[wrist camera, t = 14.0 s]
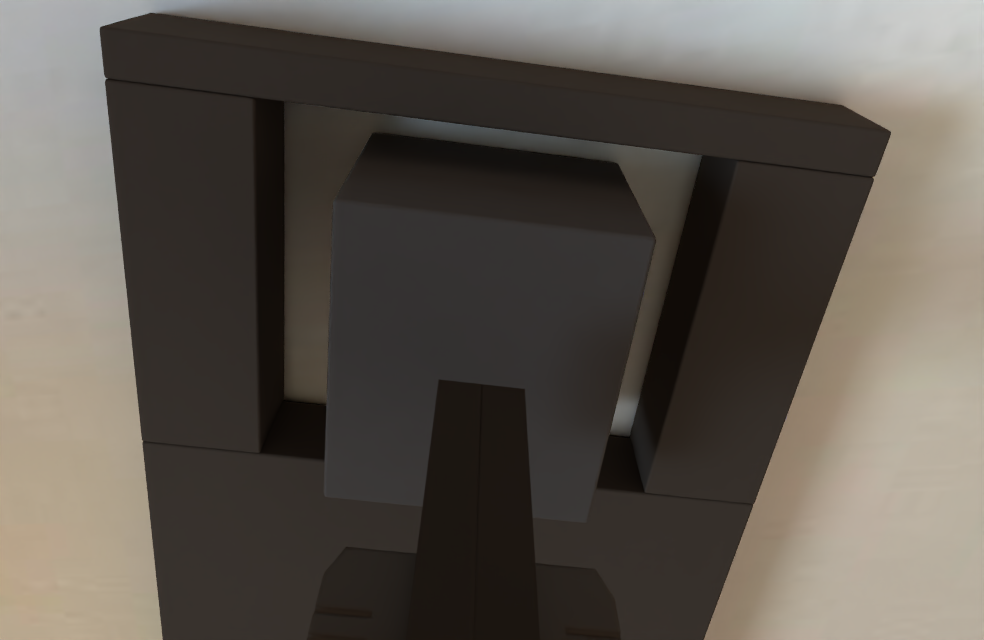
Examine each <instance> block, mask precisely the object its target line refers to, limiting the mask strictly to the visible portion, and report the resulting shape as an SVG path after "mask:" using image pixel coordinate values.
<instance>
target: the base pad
mask: <svg viewBox="0 0 984 640" xmlns="http://www.w3.org/2000/svg"><path fill="white" fill-rule="evenodd" d="M100 37H101V47H102V57H103V66H104V75H105V77H106V78H108V79H106V81H105V86H106V96H107V105H108V115H109V125H110V134H111V144H112V154H113V163H114V173H115V183H116V192H117V202H118V212H119V221H120V231H121V241H122V250H123V260H124V269H125V279H126V289H127V298H128V308H129V318H130V327H131V337H132V347H133V356H134V366H135V376H136V385H137V395H138V405H139V414H140V424H141V434H142V440H143V452H144V462H145V471H146V481H147V491H148V500H149V510H150V520H151V529H152V539H153V549H154V558H155V568H156V578H157V587H158V597H159V607H160V617H161V626H162V636H163V640H307V637H308V631H309V627H310V624H311V620H312V616H313V612H314V611H315V605H316V601H317V597H318V593H319V590H320V586H321V582H322V578H323V575H324V572H325V571H326V570H327V569H328V568H329V566H330V565H331V564H332V563H333V562H334V560H335V559H336V558H337V557H338V556H339V555H340V553H341V552H342V551H343V550H344V549H345V547H356V548H366V549H377V550H387V551H397V552H407V553H417V547H418V539H419V531H420V523H421V515H422V507H421V506H411V505H401V504H391V503H381V502H371V501H361V500H351V499H341V498H331V497H326V496H325V495H324V466H325V435H326V406H325V405H315V404H306V403H296V402H287V401H283V399H284V101H286V102H293V103H301V104H309V105H317V106H325V107H332V108H340V109H348V110H356V111H363V112H371V113H379V114H387V115H394V116H402V117H410V118H418V119H425V120H433V121H441V122H449V123H456V124H464V125H472V126H480V127H487V128H495V129H503V130H511V131H518V132H526V133H534V134H542V135H550V136H557V137H565V138H573V139H581V140H588V141H596V142H604V143H612V144H619V145H627V146H635V147H643V148H650V149H658V150H666V151H674V152H681V153H689V154H697V155H703V157H702V161H701V164H700V168H699V172H698V176H697V180H696V184H695V188H694V191H693V195H692V199H691V203H690V207H689V211H688V215H687V218H686V222H685V226H684V230H683V234H682V238H681V242H680V245H679V249H678V253H677V257H676V261H675V265H674V269H673V272H672V276H671V280H670V284H669V288H668V292H667V295H666V299H665V303H664V307H663V311H662V315H661V319H660V322H659V326H658V330H657V334H656V338H655V342H654V346H653V349H652V353H651V357H650V361H649V365H648V369H647V373H646V376H645V380H644V384H643V388H642V392H641V396H640V400H639V403H638V407H637V411H636V415H635V419H634V423H633V427H632V430H631V434H630V438H624V437H614V436H609V437H608V441H607V446H606V450H605V454H604V458H603V462H602V466H601V470H600V475H599V479H598V483H597V487H596V491H595V495H594V499H593V503H592V508H591V512H590V516H589V519H588V521H587V522H586V523H581V522H571V521H561V520H551V519H541V518H533V532H534V548H535V563H540V564H550V565H561V566H571V567H581V568H591V569H596V571H597V572H598V574H599V575H600V577H601V578H602V580H603V581H604V583H605V584H606V586H607V588H608V589H609V591H610V592H611V594H612V595H613V597H614V598H615V602H616V608H617V614H618V620H619V625H620V631H621V634H620V638H621V639H622V640H704V637H705V634H706V632H707V629H708V626H709V624H710V621H711V618H712V615H713V613H714V610H715V607H716V605H717V602H718V599H719V597H720V594H721V591H722V588H723V586H724V583H725V580H726V578H727V575H728V572H729V570H730V567H731V564H732V561H733V559H734V556H735V553H736V551H737V548H738V545H739V543H740V540H741V537H742V534H743V532H744V529H745V526H746V524H747V521H748V518H749V516H750V513H751V510H752V507H753V504H754V503H755V500H756V497H757V494H758V492H759V489H760V486H761V484H762V481H763V478H764V476H765V473H766V470H767V467H768V465H769V462H770V459H771V457H772V454H773V451H774V449H775V446H776V443H777V440H778V438H779V435H780V432H781V430H782V427H783V424H784V422H785V419H786V416H787V413H788V411H789V408H790V405H791V403H792V400H793V397H794V395H795V392H796V389H797V386H798V384H799V381H800V378H801V376H802V373H803V370H804V368H805V365H806V362H807V359H808V357H809V354H810V351H811V349H812V346H813V343H814V341H815V338H816V335H817V332H818V330H819V327H820V324H821V322H822V319H823V316H824V314H825V311H826V308H827V305H828V303H829V300H830V297H831V295H832V292H833V289H834V287H835V284H836V281H837V278H838V276H839V273H840V270H841V268H842V265H843V262H844V260H845V257H846V254H847V251H848V249H849V246H850V243H851V241H852V238H853V235H854V233H855V230H856V227H857V224H858V222H859V219H860V216H861V214H862V211H863V208H864V206H865V203H866V200H867V197H868V195H869V192H870V189H871V187H872V184H873V181H874V179H873V178H872V177H874V176H875V175H876V173H877V170H878V167H879V165H880V162H881V159H882V157H883V154H884V151H885V149H886V146H887V143H888V140H889V138H890V135H891V132H890V131H889V130H887V129H885V128H883V127H882V126H880V125H878V124H876V123H874V122H872V121H870V120H868V119H867V118H865V117H863V116H861V115H859V114H857V113H855V112H854V111H852V110H850V109H848V108H846V107H844V106H842V105H835V104H827V103H820V102H812V101H805V100H798V99H790V98H783V97H775V96H768V95H760V94H753V93H745V92H738V91H730V90H723V89H716V88H708V87H701V86H693V85H686V84H678V83H671V82H663V81H656V80H648V79H641V78H633V77H626V76H619V75H611V74H604V73H596V72H589V71H581V70H574V69H566V68H559V67H551V66H544V65H536V64H529V63H522V62H514V61H507V60H499V59H492V58H484V57H477V56H469V55H462V54H454V53H447V52H439V51H432V50H425V49H417V48H410V47H402V46H395V45H387V44H380V43H372V42H365V41H357V40H350V39H343V38H335V37H328V36H320V35H313V34H305V33H298V32H290V31H283V30H275V29H268V28H260V27H253V26H246V25H238V24H231V23H223V22H216V21H208V20H201V19H193V18H186V17H178V16H171V15H163V14H156V13H149V14H145V15H142V16H138V17H134V18H131V19H127V20H123V21H120V22H116V23H113V24H109V25H105V26H102V27H100Z"/></svg>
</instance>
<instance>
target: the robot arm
mask: <svg viewBox="0 0 984 640" xmlns="http://www.w3.org/2000/svg"><path fill="white" fill-rule="evenodd" d="M620 634H621V631H620V625H619V620H618V614H617V608H616V602H615V598H614V597H613V595H612V594H611V592H610V591H609V589H608V588H607V586H606V584H605V583H604V581H603V580H602V578H601V577H600V575H599V574H598V572H597V571H596V569H591V568H581V567H571V566H561V565H550V564H540V563H535V548H534V532H533V515H532V499H531V482H530V466H529V449H528V433H527V416H526V400H525V389H521V388H512V387H503V386H494V385H485V384H476V383H467V382H458V381H449V380H440V379H439V381H438V388H437V396H436V404H435V412H434V420H433V428H432V436H431V444H430V452H429V460H428V468H427V475H426V483H425V491H424V499H423V507H422V515H421V523H420V531H419V539H418V547H417V553H407V552H397V551H387V550H377V549H366V548H356V547H345V549H344V550H343V551H342V552H341V553H340V555H339V556H338V557H337V558H336V559H335V560H334V562H333V563H332V564H331V565H330V566H329V568H328V569H327V570H326V571H325V572H324V575H323V578H322V582H321V586H320V590H319V593H318V597H317V601H316V605H315V611H314V612H313V616H312V620H311V624H310V627H309V631H308V637H307V640H622V639H621V638H620Z"/></svg>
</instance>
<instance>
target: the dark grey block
mask: <svg viewBox="0 0 984 640" xmlns="http://www.w3.org/2000/svg"><path fill="white" fill-rule="evenodd" d="M655 243H656V239H655V236H654V234H653V232H652V230H651V228H650V226H649V224H648V222H647V220H646V219H645V217H644V215H643V213H642V211H641V209H640V207H639V205H638V203H637V201H636V199H635V197H634V195H633V193H632V191H631V189H630V187H629V185H628V183H627V181H626V179H625V177H624V175H623V173H622V171H621V169H620V167H619V165H618V164H616V163H610V162H602V161H595V160H587V159H579V158H571V157H563V156H555V155H547V154H539V153H531V152H523V151H515V150H508V149H500V148H492V147H484V146H476V145H468V144H460V143H452V142H444V141H436V140H428V139H421V138H413V137H405V136H397V135H389V134H381V133H372V135H371V136H370V138H369V140H368V142H367V143H366V145H365V147H364V149H363V150H362V152H361V154H360V156H359V157H358V159H357V161H356V162H355V164H354V166H353V168H352V169H351V171H350V173H349V175H348V176H347V178H346V180H345V182H344V183H343V185H342V187H341V189H340V190H339V192H338V194H337V196H336V197H335V199H334V201H333V216H332V247H331V279H330V310H329V341H328V372H327V403H326V435H325V466H324V495H325V496H326V497H331V498H341V499H351V500H361V501H371V502H381V503H391V504H401V505H411V506H421V507H423V499H424V491H425V483H426V475H427V468H428V460H429V452H430V444H431V436H432V428H433V420H434V412H435V404H436V396H437V388H438V381H439V379H440V380H449V381H458V382H467V383H476V384H485V385H494V386H503V387H512V388H521V389H525V400H526V416H527V433H528V449H529V466H530V482H531V499H532V515H533V518H541V519H551V520H561V521H571V522H581V523H586V522H587V521H588V519H589V516H590V512H591V508H592V503H593V499H594V495H595V491H596V487H597V483H598V479H599V475H600V470H601V466H602V462H603V458H604V454H605V450H606V446H607V441H608V437H609V433H610V429H611V425H612V421H613V417H614V413H615V408H616V404H617V400H618V396H619V392H620V388H621V384H622V379H623V375H624V371H625V367H626V363H627V359H628V355H629V350H630V346H631V342H632V338H633V334H634V330H635V326H636V322H637V317H638V313H639V309H640V305H641V301H642V297H643V293H644V288H645V284H646V280H647V276H648V272H649V268H650V264H651V260H652V255H653V251H654V247H655Z"/></svg>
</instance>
